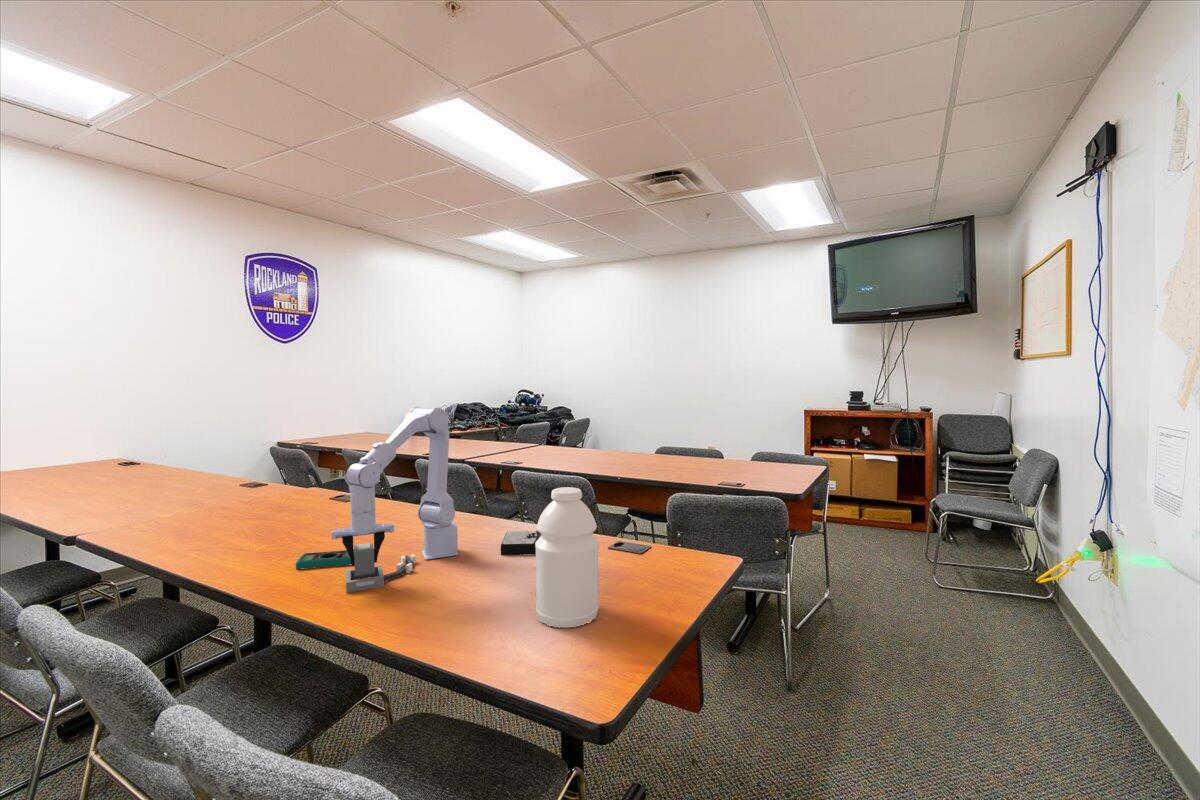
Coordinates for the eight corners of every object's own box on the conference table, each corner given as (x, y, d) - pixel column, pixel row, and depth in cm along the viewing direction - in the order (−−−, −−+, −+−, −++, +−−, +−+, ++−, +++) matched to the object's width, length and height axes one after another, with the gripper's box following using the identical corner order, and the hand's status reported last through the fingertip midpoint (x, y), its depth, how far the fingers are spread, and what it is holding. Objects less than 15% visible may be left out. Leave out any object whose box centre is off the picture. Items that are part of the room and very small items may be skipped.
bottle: (591, 632, 107) (591, 498, 106) (527, 627, 109) (526, 496, 108) (603, 603, 121) (602, 484, 120) (545, 598, 123) (545, 482, 122)
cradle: (381, 574, 139) (381, 565, 138) (383, 587, 130) (383, 577, 130) (346, 579, 135) (346, 570, 135) (346, 593, 126) (346, 583, 126)
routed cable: (423, 559, 149) (423, 552, 149) (400, 581, 133) (400, 574, 133) (404, 559, 150) (404, 552, 149) (380, 581, 134) (379, 574, 133)
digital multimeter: (353, 566, 146) (353, 556, 146) (294, 571, 142) (294, 561, 142) (358, 557, 153) (358, 547, 153) (302, 562, 149) (302, 552, 149)
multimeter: (565, 555, 154) (565, 539, 154) (500, 556, 153) (500, 540, 153) (566, 541, 167) (566, 526, 167) (506, 542, 166) (506, 527, 166)
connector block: (373, 565, 136) (372, 541, 136) (374, 572, 131) (373, 547, 131) (354, 568, 134) (354, 543, 134) (354, 576, 129) (354, 550, 129)
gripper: (330, 517, 125) (331, 573, 126) (394, 510, 131) (395, 563, 132) (331, 510, 131) (332, 563, 132) (392, 504, 138) (393, 554, 138)
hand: (364, 563), depth 132 cm, fingers closed on connector block, 4 cm apart
